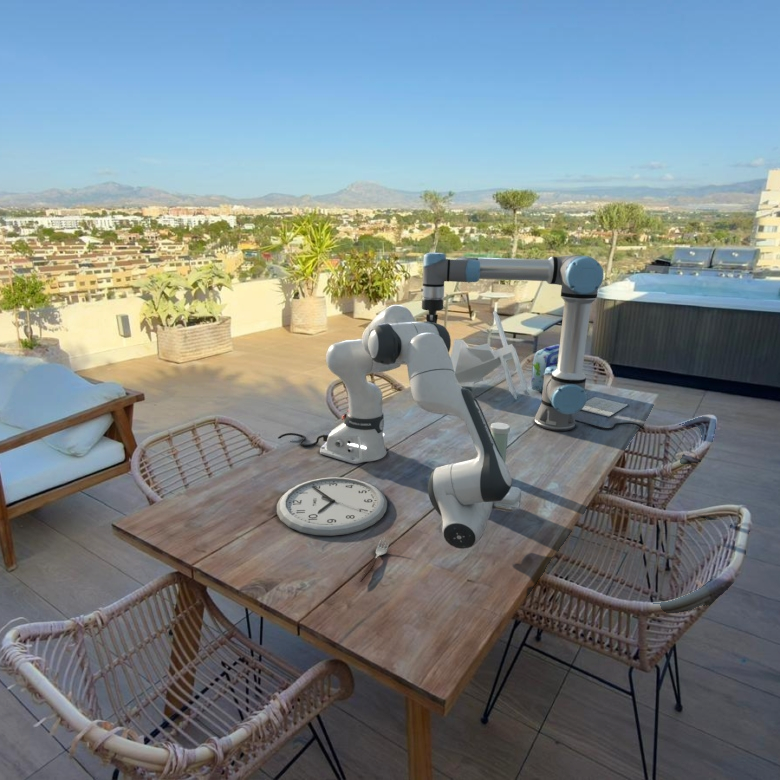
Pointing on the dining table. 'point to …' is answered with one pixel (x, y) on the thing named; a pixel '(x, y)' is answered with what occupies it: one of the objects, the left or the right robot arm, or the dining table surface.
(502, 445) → the jar
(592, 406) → the invitation card
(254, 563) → the dining table surface
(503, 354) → the white plastic object
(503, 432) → the lid
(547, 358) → the lunch box
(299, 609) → the dining table surface
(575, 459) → the dining table surface
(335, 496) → the wall clock
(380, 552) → the fork
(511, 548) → the dining table surface
